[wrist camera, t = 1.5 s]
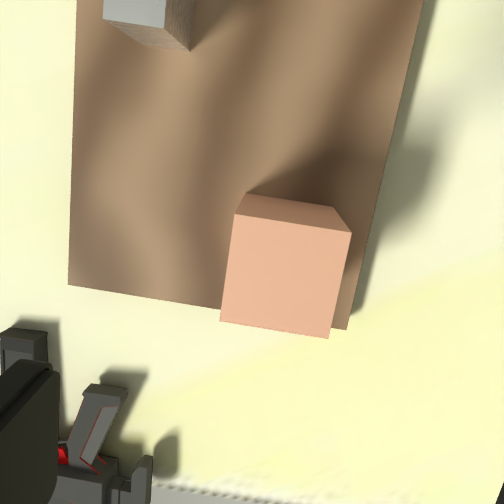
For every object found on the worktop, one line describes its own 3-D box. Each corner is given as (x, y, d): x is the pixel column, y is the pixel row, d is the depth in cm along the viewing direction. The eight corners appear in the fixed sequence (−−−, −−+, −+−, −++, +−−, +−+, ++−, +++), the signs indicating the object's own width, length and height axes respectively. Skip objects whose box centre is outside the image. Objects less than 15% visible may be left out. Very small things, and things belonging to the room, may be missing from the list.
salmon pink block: (332, 206, 25) (351, 232, 19) (316, 289, 26) (328, 339, 20) (245, 193, 25) (234, 213, 19) (233, 275, 26) (219, 321, 20)
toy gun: (-116, 320, 29) (-98, 504, 33) (149, 361, 27) (139, 552, 31) (-77, 306, 32) (-64, 475, 36) (164, 342, 30) (154, 518, 34)
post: (200, 6, 24) (169, -43, 17) (195, 56, 25) (163, 28, 18) (154, -1, 24) (106, -53, 17) (150, 49, 25) (102, 19, 18)
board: (420, -17, 23) (429, -27, 22) (342, 320, 28) (346, 330, 27) (91, -67, 23) (79, -80, 22) (78, 276, 29) (67, 284, 27)
